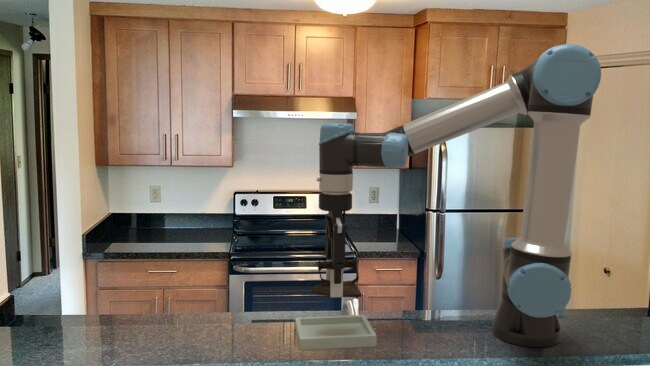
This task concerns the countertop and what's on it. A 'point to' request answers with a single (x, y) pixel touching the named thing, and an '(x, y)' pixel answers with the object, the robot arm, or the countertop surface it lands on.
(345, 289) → the clothes iron
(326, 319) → the iron rest
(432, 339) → the countertop surface
